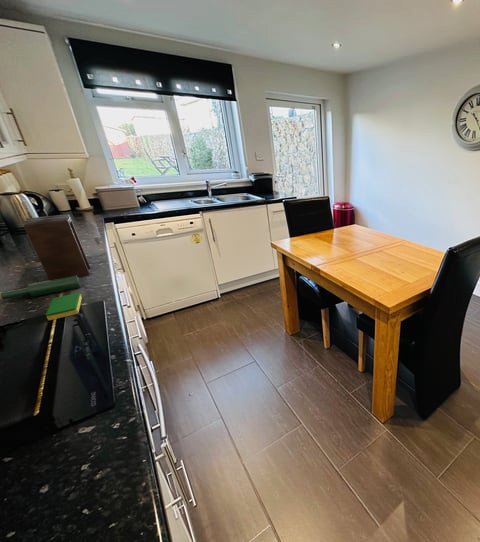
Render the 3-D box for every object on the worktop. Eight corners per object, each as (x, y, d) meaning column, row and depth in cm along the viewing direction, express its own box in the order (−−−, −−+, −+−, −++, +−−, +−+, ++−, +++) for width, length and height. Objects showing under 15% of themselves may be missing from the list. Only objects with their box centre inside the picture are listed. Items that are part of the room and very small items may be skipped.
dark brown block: (50, 282, 114) (21, 222, 104) (53, 274, 121) (27, 217, 111) (90, 275, 121) (66, 218, 111) (90, 268, 128) (69, 213, 118)
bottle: (3, 302, 101) (-3, 305, 97) (-3, 289, 100) (-9, 291, 96) (82, 286, 113) (80, 288, 109) (77, 274, 112) (75, 275, 108)
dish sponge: (48, 321, 90) (45, 315, 89) (55, 303, 100) (52, 297, 99) (78, 314, 94) (75, 308, 93) (82, 298, 104) (79, 292, 103)
